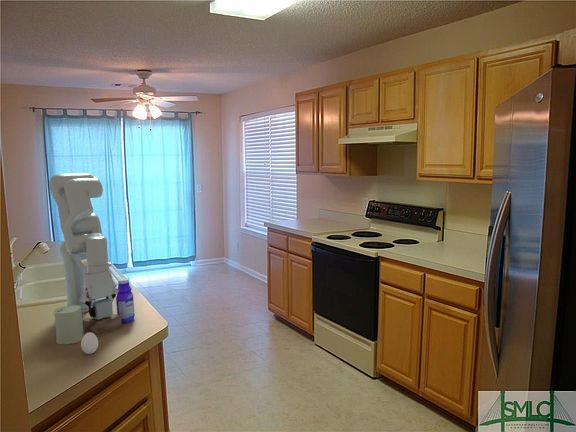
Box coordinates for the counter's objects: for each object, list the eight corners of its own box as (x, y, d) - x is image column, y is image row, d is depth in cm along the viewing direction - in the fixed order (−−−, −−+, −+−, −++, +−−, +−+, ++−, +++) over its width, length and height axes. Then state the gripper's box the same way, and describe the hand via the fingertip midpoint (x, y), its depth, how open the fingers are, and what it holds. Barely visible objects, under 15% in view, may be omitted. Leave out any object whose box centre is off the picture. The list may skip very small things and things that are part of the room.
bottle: (127, 324, 177) (125, 281, 175) (114, 323, 178) (112, 281, 176) (137, 318, 184) (134, 277, 182) (124, 317, 185) (122, 276, 183)
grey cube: (89, 316, 170) (88, 301, 170) (104, 312, 175) (103, 297, 174) (98, 319, 167) (97, 304, 166) (112, 315, 172) (111, 300, 171)
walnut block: (82, 332, 170) (81, 320, 169) (103, 324, 178) (103, 312, 178) (100, 336, 165) (99, 324, 164) (121, 327, 174) (121, 315, 173)
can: (54, 338, 163) (51, 307, 162) (81, 332, 169) (78, 302, 167) (59, 346, 156) (56, 313, 154) (87, 340, 161) (84, 308, 160)
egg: (101, 350, 152) (100, 329, 152) (95, 356, 147) (93, 335, 146) (85, 350, 152) (84, 329, 151) (79, 357, 147) (77, 335, 146)
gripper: (113, 263, 178) (116, 306, 180) (70, 271, 164) (74, 318, 166) (124, 265, 173) (126, 309, 175) (80, 274, 160) (84, 322, 162)
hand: (101, 313), depth 171 cm, fingers closed on grey cube, 6 cm apart
